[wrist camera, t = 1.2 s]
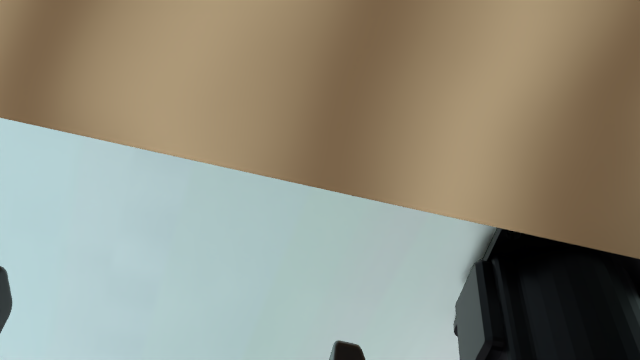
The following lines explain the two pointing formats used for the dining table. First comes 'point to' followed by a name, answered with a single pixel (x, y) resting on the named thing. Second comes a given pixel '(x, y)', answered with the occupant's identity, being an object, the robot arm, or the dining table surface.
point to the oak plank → (360, 98)
